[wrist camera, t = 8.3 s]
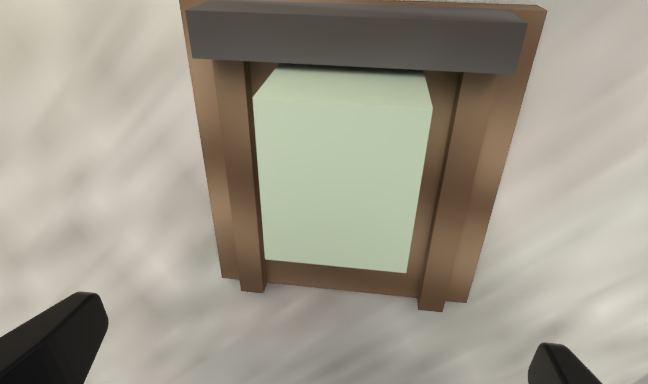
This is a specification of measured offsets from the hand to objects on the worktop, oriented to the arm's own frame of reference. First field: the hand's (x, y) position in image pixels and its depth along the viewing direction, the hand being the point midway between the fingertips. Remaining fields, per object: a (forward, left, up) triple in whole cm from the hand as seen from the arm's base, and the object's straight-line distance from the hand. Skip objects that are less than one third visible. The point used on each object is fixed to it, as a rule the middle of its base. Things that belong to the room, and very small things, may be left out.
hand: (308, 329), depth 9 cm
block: (0, 0, -10) cm, 10 cm away
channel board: (-2, 0, -12) cm, 12 cm away
